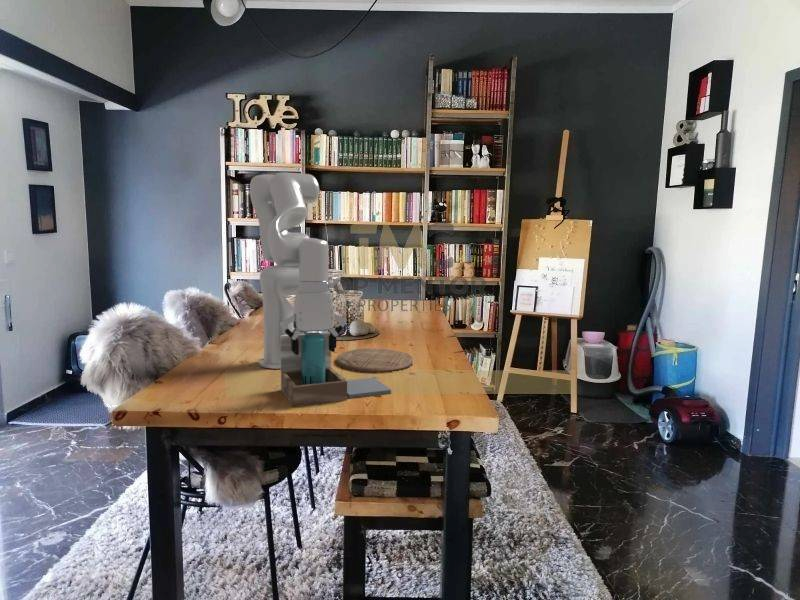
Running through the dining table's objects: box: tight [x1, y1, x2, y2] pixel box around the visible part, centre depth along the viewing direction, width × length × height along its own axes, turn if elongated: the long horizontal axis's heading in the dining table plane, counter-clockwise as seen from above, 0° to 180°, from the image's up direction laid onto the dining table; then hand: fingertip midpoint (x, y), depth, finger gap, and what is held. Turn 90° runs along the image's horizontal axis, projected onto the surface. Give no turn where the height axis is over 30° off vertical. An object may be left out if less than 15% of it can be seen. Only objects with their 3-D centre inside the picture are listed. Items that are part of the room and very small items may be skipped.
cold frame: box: [280, 331, 348, 407], centre depth 139 cm, size 15×14×15 cm
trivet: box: [336, 348, 414, 374], centre depth 174 cm, size 25×25×2 cm
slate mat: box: [346, 377, 392, 399], centre depth 146 cm, size 12×12×1 cm
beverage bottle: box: [301, 332, 326, 385], centre depth 138 cm, size 6×7×20 cm
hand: (314, 352), depth 138 cm, fingers open, 9 cm apart
